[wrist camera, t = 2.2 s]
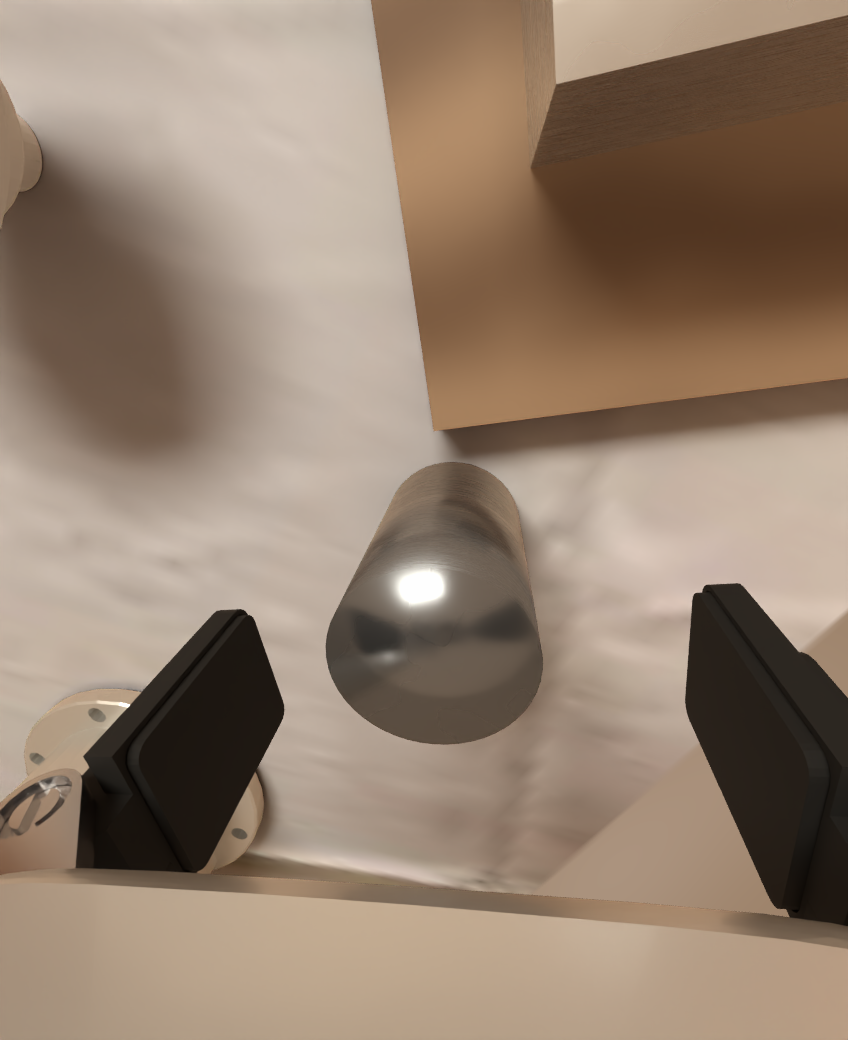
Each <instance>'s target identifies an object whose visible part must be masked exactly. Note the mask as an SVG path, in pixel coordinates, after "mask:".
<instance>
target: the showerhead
mask: <svg viewBox="0 0 848 1040" xmlns="http://www.w3.org/2000/svg"><path fill="white" fill-rule="evenodd" d="M41 170H42V155H41V150H40V146H39V144H38V141H37V139H36V136H35V135H34V133H33V131H32V130H31V128H30V127H29V126H28V124H27V123H26V122H25V121H24V120H23V119H22V118H21V117H20V116H19V115H17V114H16V111H15V109H14V106H13V103H12V101H11V99H10V97H9V94H8V92H7V90H6V88H5V86H4V85H3V83H2V81H1V80H0V229H1V227H2V222H3V218H4V214H5V213H6V212H7V211H8V210H9V208H10V207H11V206H12V205H13V203H14V202H15V200H16V197H17V195H18V193H19V192H23V191H27V190H29V189H31V188H32V187H33V186H34V185H35V184H36V183H37V182H38V180H39V178H40V174H41Z"/></svg>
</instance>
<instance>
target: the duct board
mask: <svg viewBox="0 0 848 1040" xmlns="http://www.w3.org/2000/svg"><path fill="white" fill-rule="evenodd" d="M371 4H372V11H373V17H374V24H375V31H376V38H377V45H378V52H379V59H380V65H381V72H382V79H383V86H384V93H385V100H386V107H387V113H388V120H389V127H390V134H391V141H392V148H393V155H394V161H395V168H396V175H397V182H398V189H399V196H400V203H401V209H402V216H403V223H404V230H405V237H406V244H407V251H408V257H409V264H410V271H411V278H412V285H413V292H414V298H415V305H416V312H417V319H418V326H419V333H420V340H421V346H422V353H423V360H424V367H425V374H426V381H427V388H428V394H429V401H430V408H431V415H432V422H433V429H434V431H438V430H446V429H454V428H462V427H469V426H477V425H485V424H493V423H501V422H508V421H516V420H524V419H532V418H540V417H547V416H555V415H563V414H571V413H579V412H586V411H594V410H602V409H610V408H618V407H626V406H633V405H641V404H649V403H657V402H665V401H672V400H680V399H688V398H696V397H704V396H711V395H719V394H727V393H735V392H743V391H750V390H758V389H766V388H774V387H782V386H789V385H797V384H805V383H813V382H821V381H829V380H836V379H844V378H848V0H371Z"/></svg>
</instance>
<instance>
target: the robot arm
mask: <svg viewBox="0 0 848 1040" xmlns="http://www.w3.org/2000/svg"><path fill="white" fill-rule="evenodd" d="M685 703H686V710H687V714H688V717H689V720H690V722H691V725H692V727H693V729H694V731H695V733H696V736H697V738H698V740H699V742H700V745H701V747H702V749H703V751H704V753H705V756H706V758H707V760H708V762H709V765H710V767H711V769H712V771H713V773H714V776H715V778H716V780H717V783H718V785H719V787H720V789H721V791H722V793H723V796H724V798H725V800H726V802H727V805H728V807H729V809H730V812H731V814H732V816H733V818H734V820H735V823H736V825H737V827H738V829H739V832H740V834H741V836H742V838H743V840H744V843H745V845H746V847H747V849H748V852H749V854H750V856H751V858H752V860H753V863H754V865H755V867H756V870H757V872H758V874H759V876H760V878H761V881H762V883H763V885H764V887H765V889H766V892H767V894H768V896H769V898H770V900H771V902H772V903H773V905H774V906H775V907H776V908H777V909H786V910H787V912H788V914H789V916H790V917H783V916H775V915H768V914H759V913H747V912H737V911H726V910H715V909H703V908H692V907H681V906H670V905H658V904H647V903H635V902H621V901H608V900H607V901H606V900H594V899H580V898H566V897H552V896H538V895H524V894H510V893H496V892H482V891H468V890H453V889H438V888H423V887H408V886H393V885H378V884H362V883H347V882H331V881H316V880H301V879H285V878H268V877H251V876H234V875H217V874H211V872H212V870H216V869H219V868H221V867H224V866H226V865H228V864H230V863H232V862H234V861H235V860H236V859H238V858H239V857H240V856H241V855H242V854H244V853H245V852H246V850H247V849H248V847H249V846H250V844H251V843H252V842H253V840H254V837H255V835H256V833H257V830H258V828H259V826H260V823H261V821H262V817H263V810H264V800H263V792H262V788H261V785H260V782H259V780H258V777H257V775H256V772H255V771H256V770H257V768H258V766H259V764H260V762H261V760H262V758H263V756H264V754H265V752H266V750H267V748H268V746H269V745H270V743H271V741H272V739H273V737H274V735H275V733H276V731H277V729H278V727H279V725H280V723H281V722H282V719H283V716H284V703H283V700H282V697H281V694H280V691H279V689H278V686H277V683H276V680H275V677H274V674H273V672H272V669H271V666H270V663H269V660H268V657H267V654H266V652H265V649H264V646H263V643H262V640H261V637H260V635H259V632H258V629H257V626H256V623H255V621H254V619H253V617H252V616H250V615H248V614H247V613H246V612H245V611H244V610H241V609H237V610H220V611H216V612H215V613H214V614H213V615H212V616H211V617H210V618H209V619H208V620H207V621H206V622H205V624H204V625H203V626H202V627H201V628H200V629H199V630H198V631H197V632H196V633H195V634H194V636H193V637H192V638H191V639H190V640H189V641H188V642H187V643H186V644H185V645H184V646H183V648H182V649H181V650H180V651H179V652H178V653H177V654H176V655H175V656H174V657H173V659H172V660H171V661H170V662H169V663H168V664H167V665H166V666H165V667H164V668H163V669H162V671H161V672H160V673H159V674H158V675H157V676H156V677H155V678H154V679H153V680H152V681H151V683H150V684H149V685H148V686H147V687H146V688H145V689H144V690H143V691H142V692H138V691H131V690H125V689H96V690H90V691H85V692H80V693H77V694H75V695H72V696H70V697H68V698H65V699H63V700H62V701H60V702H59V703H58V704H57V705H55V706H54V707H53V708H52V709H50V710H49V711H48V712H47V713H46V714H45V715H44V716H43V717H42V718H41V719H40V720H39V721H38V722H37V723H36V724H35V725H34V726H33V727H32V729H31V731H30V733H29V736H28V738H27V740H26V745H25V751H24V758H25V764H26V771H27V775H28V777H27V778H26V779H25V780H24V781H23V782H22V783H21V784H20V785H19V786H18V787H17V788H16V789H15V790H14V791H13V792H12V793H10V794H9V795H8V796H7V797H6V798H5V799H4V800H3V801H2V802H0V1040H848V698H847V697H846V696H845V694H844V693H843V692H842V691H841V690H840V689H839V688H838V687H837V685H836V684H835V683H834V682H833V681H832V679H831V678H830V677H829V676H828V675H827V674H826V673H825V671H824V670H823V669H822V668H821V667H820V666H819V665H818V664H817V662H816V661H815V660H814V659H812V658H811V657H810V656H809V655H807V654H805V653H802V652H798V651H797V650H796V648H795V647H794V646H793V645H792V644H791V643H790V641H789V640H788V639H787V638H786V637H785V635H784V634H783V633H782V632H781V631H780V629H779V628H778V627H777V626H776V625H775V624H774V622H773V621H772V620H771V619H770V618H769V616H768V615H767V614H766V613H765V612H764V611H763V609H762V608H761V607H760V606H759V605H758V603H757V602H756V601H755V600H754V599H753V598H752V596H751V595H750V594H749V593H748V592H747V590H746V589H745V588H744V587H743V586H742V585H741V584H738V583H735V584H716V585H706V586H704V588H703V591H702V593H695V594H694V596H693V600H692V614H691V628H690V641H689V655H688V668H687V682H686V696H685Z"/></svg>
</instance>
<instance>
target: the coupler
mask: <svg viewBox="0 0 848 1040" xmlns="http://www.w3.org/2000/svg"><path fill="white" fill-rule="evenodd" d="M326 658H327V663H328V668H329V671H330V674H331V677H332V679H333V681H334V683H335V685H336V687H337V689H338V691H339V692H340V693H341V695H342V696H343V698H344V699H345V700H346V701H347V703H348V704H349V705H350V706H351V707H352V708H353V709H354V710H355V711H356V712H357V713H358V714H360V715H361V716H362V717H363V718H365V719H366V720H367V721H369V722H370V723H372V724H373V725H375V726H377V727H378V728H380V729H382V730H384V731H386V732H388V733H391V734H393V735H395V736H398V737H401V738H404V739H407V740H412V741H416V742H421V743H429V744H459V743H465V742H471V741H475V740H478V739H482V738H485V737H487V736H490V735H492V734H494V733H496V732H498V731H500V730H502V729H504V728H505V727H507V726H508V725H510V724H511V723H512V722H514V721H515V720H516V719H517V718H518V717H519V716H520V715H521V714H522V713H523V712H524V711H525V710H526V709H527V707H528V706H529V705H530V703H531V702H532V700H533V698H534V696H535V695H536V693H537V690H538V687H539V684H540V682H541V676H542V670H543V657H542V650H541V644H540V638H539V632H538V627H537V621H536V615H535V609H534V603H533V597H532V591H531V585H530V579H529V573H528V568H527V562H526V556H525V550H524V544H523V538H522V532H521V526H520V520H519V514H518V510H517V506H516V503H515V501H514V499H513V497H512V495H511V494H510V492H509V491H508V489H507V488H506V487H505V486H504V484H503V483H502V482H501V481H500V480H498V479H497V478H496V477H495V476H494V475H492V474H491V473H489V472H488V471H486V470H483V469H481V468H479V467H476V466H474V465H470V464H465V463H458V462H445V463H439V464H434V465H431V466H428V467H425V468H423V469H421V470H419V471H417V472H416V473H414V474H413V475H411V476H410V477H409V478H408V479H407V480H406V481H405V482H404V483H403V484H402V485H401V486H400V487H399V489H398V490H397V492H396V493H395V495H394V497H393V499H392V501H391V503H390V505H389V507H388V509H387V511H386V513H385V515H384V517H383V519H382V521H381V523H380V525H379V527H378V529H377V531H376V533H375V535H374V537H373V539H372V541H371V543H370V545H369V547H368V549H367V551H366V553H365V555H364V557H363V559H362V561H361V563H360V565H359V567H358V569H357V571H356V573H355V575H354V577H353V579H352V580H351V582H350V584H349V586H348V588H347V590H346V592H345V594H344V596H343V598H342V600H341V602H340V604H339V606H338V608H337V610H336V612H335V614H334V616H333V619H332V621H331V623H330V626H329V629H328V633H327V639H326Z"/></svg>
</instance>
